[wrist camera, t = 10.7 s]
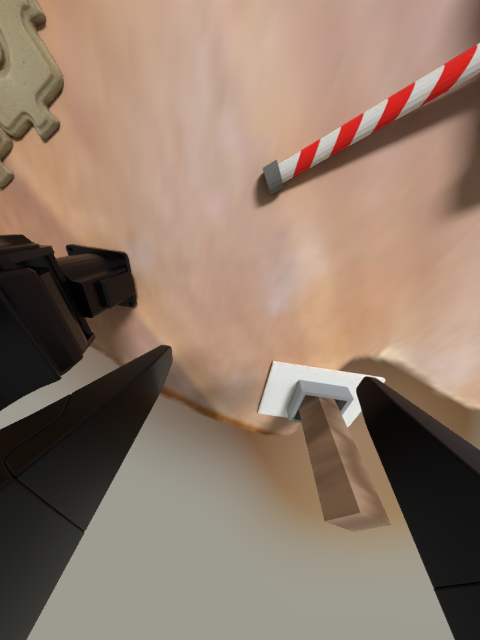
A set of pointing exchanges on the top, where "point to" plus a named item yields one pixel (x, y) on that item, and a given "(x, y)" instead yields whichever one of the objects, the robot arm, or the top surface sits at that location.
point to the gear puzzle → (24, 77)
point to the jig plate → (309, 390)
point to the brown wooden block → (339, 468)
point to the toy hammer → (377, 117)
